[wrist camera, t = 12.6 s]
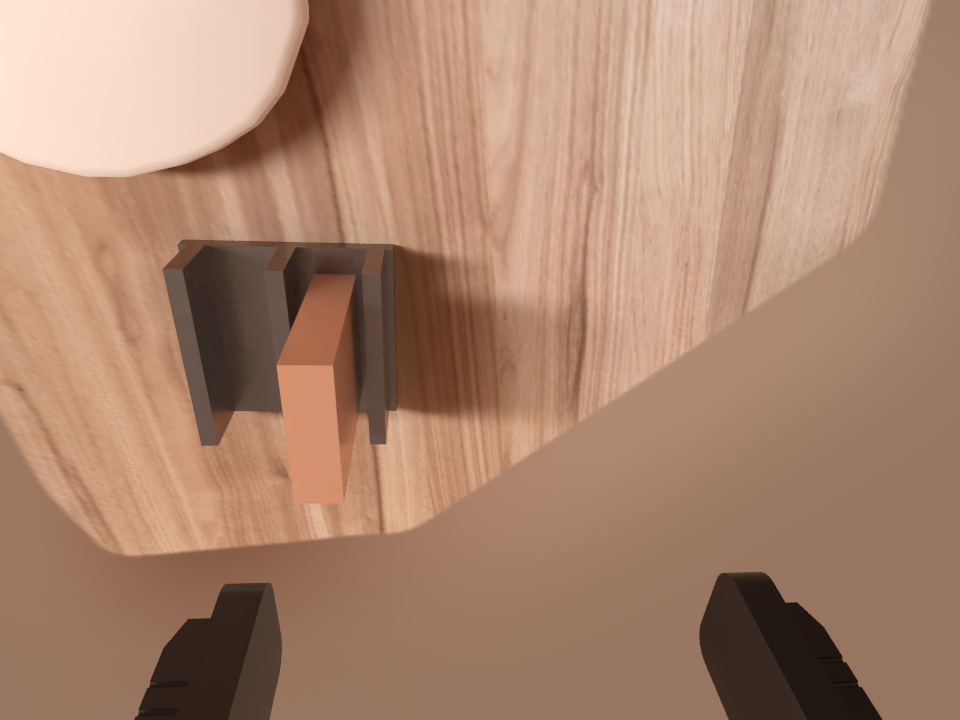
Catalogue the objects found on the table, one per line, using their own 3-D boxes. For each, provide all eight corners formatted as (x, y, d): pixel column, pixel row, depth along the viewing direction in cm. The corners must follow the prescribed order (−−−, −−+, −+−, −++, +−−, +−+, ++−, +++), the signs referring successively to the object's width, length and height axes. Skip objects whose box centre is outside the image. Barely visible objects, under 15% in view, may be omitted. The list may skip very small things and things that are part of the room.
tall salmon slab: (314, 273, 44) (276, 365, 33) (356, 274, 45) (332, 365, 33) (324, 390, 49) (294, 503, 38) (362, 390, 50) (343, 503, 38)
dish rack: (182, 239, 43) (152, 268, 39) (393, 244, 45) (389, 273, 40) (215, 404, 50) (193, 445, 46) (396, 403, 52) (393, 444, 47)
